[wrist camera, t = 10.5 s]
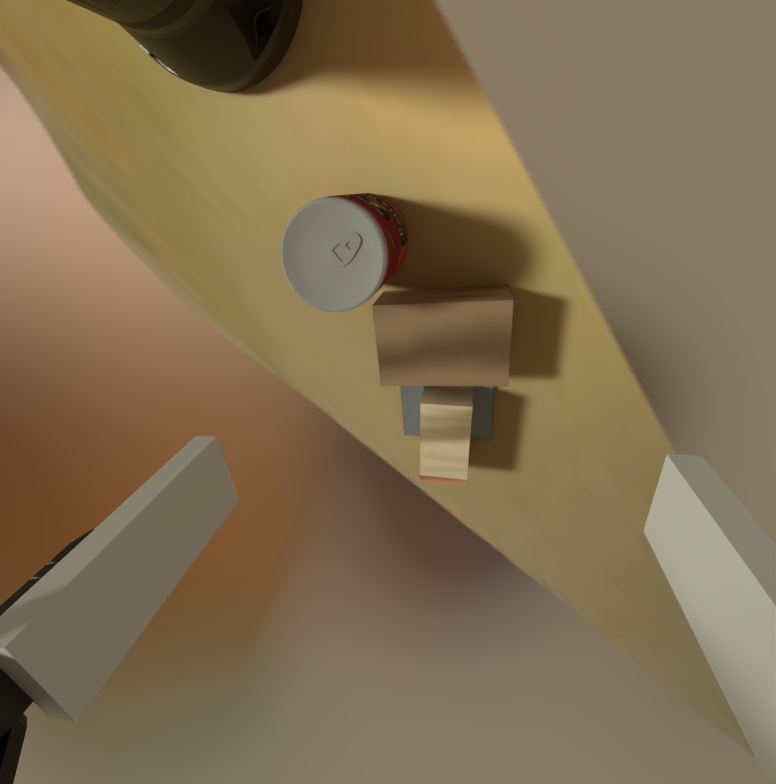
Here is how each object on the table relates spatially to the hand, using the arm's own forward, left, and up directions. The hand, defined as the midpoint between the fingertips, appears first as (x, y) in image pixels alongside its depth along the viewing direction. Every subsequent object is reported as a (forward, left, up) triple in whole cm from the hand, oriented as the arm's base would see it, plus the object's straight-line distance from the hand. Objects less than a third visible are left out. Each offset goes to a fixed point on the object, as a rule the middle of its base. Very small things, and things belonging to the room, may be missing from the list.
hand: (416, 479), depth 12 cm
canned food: (-4, -8, -29) cm, 30 cm away
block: (+11, -1, -26) cm, 28 cm away
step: (+5, -1, -29) cm, 29 cm away
